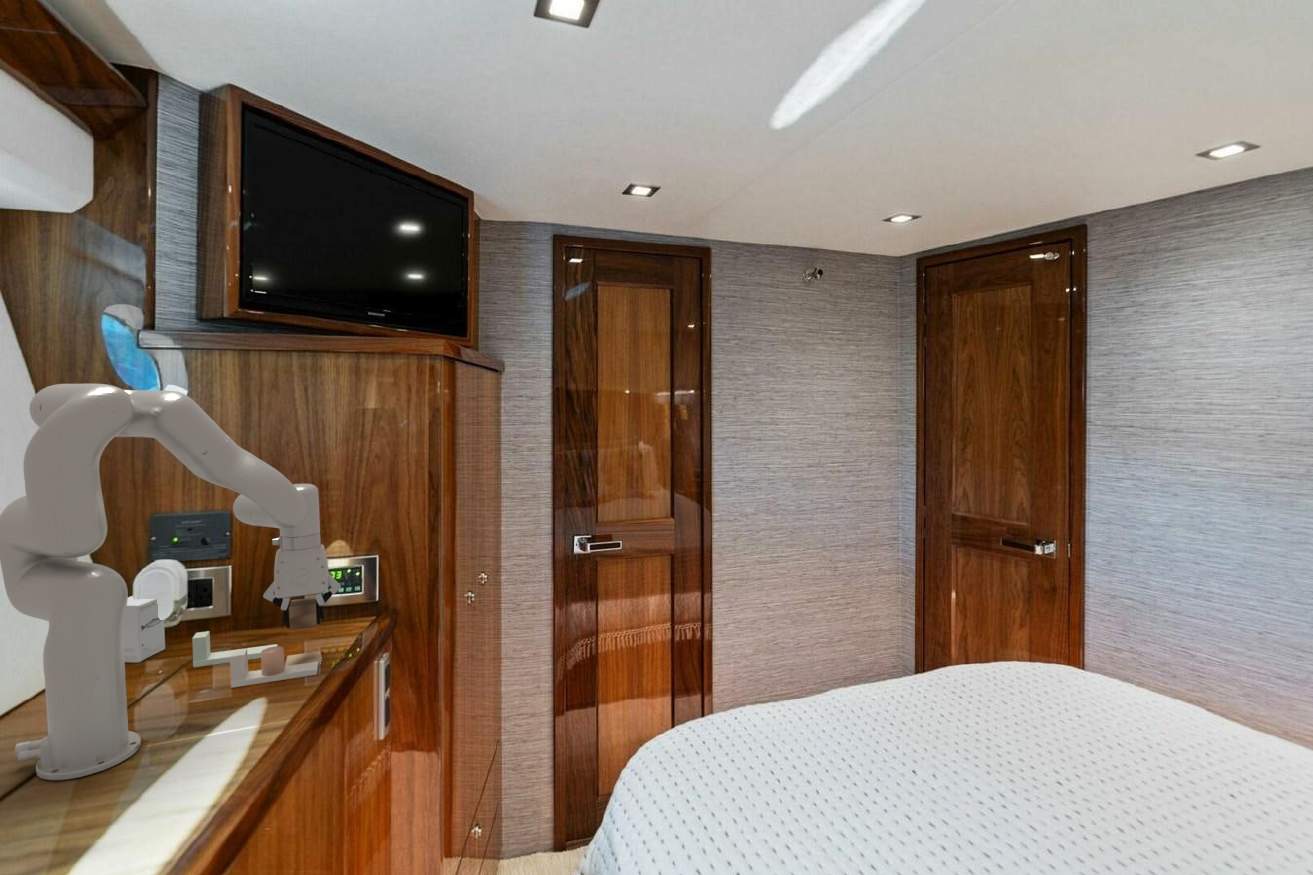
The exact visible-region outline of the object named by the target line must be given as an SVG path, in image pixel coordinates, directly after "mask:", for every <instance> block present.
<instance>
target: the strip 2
mask: <svg viewBox="0 0 1313 875" xmlns="http://www.w3.org/2000/svg"><path fill="white" fill-rule="evenodd" d="M247 648H248V647H247ZM247 648H246V649H245V648H237V649H238V650H237V649H232V650H233V652H232V654H231V656H230V662H229V665H230V666H229V667H230V670H229V671H230V688H231V689H232V688H239V687H240V688H241V687H246V686H253V685H257V684H264V683H272V682H279V681H283V680H285V681H286V680H290V679H291V680H292V679H298V678H304V677H310V676H316V675H318V671H319V664H318V662H311V663H304V664H297V665H291V666H285V665H284V671H283V672H282V673H280V674H277V675H273V676H263V675H262V669H257V670H250V671H249V660H248V654H247Z"/></svg>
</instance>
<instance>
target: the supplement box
mask: <svg viewBox="0 0 1313 875" xmlns="http://www.w3.org/2000/svg"><path fill="white" fill-rule="evenodd" d="M133 596H134V595H131V596H128V599H127V606H126V611H125V617H124V627H123V644H124V661H125V663H141V662H142V661H145V660H146V659H147V658H151V657H152V656H153V655H154V656H155V655H156V654H158V653H160V652H162V651H164V650H166V638H165V637H166V635H165V634H166V633H165V632H166V631H165V619H164V620H160V619H159V617H158V604H157V599H139V600H137V599H135V600H134V598H133Z"/></svg>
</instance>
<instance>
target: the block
mask: <svg viewBox="0 0 1313 875" xmlns="http://www.w3.org/2000/svg"><path fill="white" fill-rule="evenodd" d="M289 604H290V606H289V621H290V628H289V631H295V630H296V631H297V630H303V629H309V628H310V629H312V628H317V627H318V624H317V616H316V606H317V599H316V597H315V596H314V597H307V598H299V599H292V600H291V599H290V602H289Z"/></svg>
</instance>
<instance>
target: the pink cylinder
mask: <svg viewBox="0 0 1313 875" xmlns="http://www.w3.org/2000/svg"><path fill="white" fill-rule="evenodd" d="M260 662H261V663H260V664H261V665H260V666H261V669H260V670H262V675H263V676H273V675H277V674H280V673H282V672H283V671H284V666H285V648H284V647H283V646H278V645H277V646H276V647H270V648H266V649H264V650H262V651H261V658H260Z"/></svg>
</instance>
